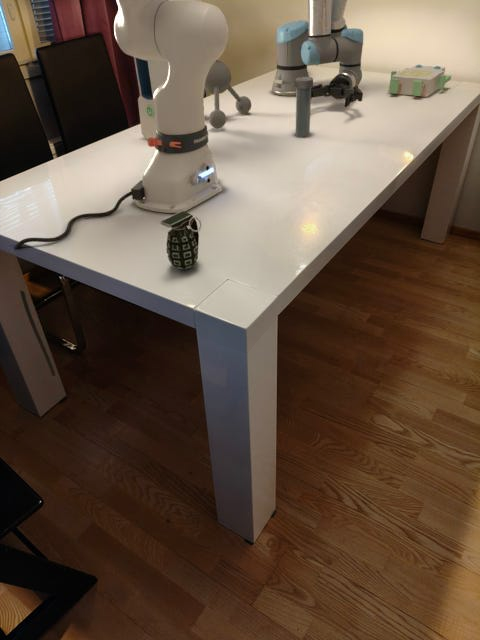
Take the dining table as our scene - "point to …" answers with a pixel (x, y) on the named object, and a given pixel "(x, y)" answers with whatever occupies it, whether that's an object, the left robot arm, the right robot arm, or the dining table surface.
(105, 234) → the dining table surface
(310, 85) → the lid
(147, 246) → the dining table surface
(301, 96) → the grey cylinder
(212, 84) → the molecular model
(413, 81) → the decorative block
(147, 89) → the electronic device
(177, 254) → the grenade
